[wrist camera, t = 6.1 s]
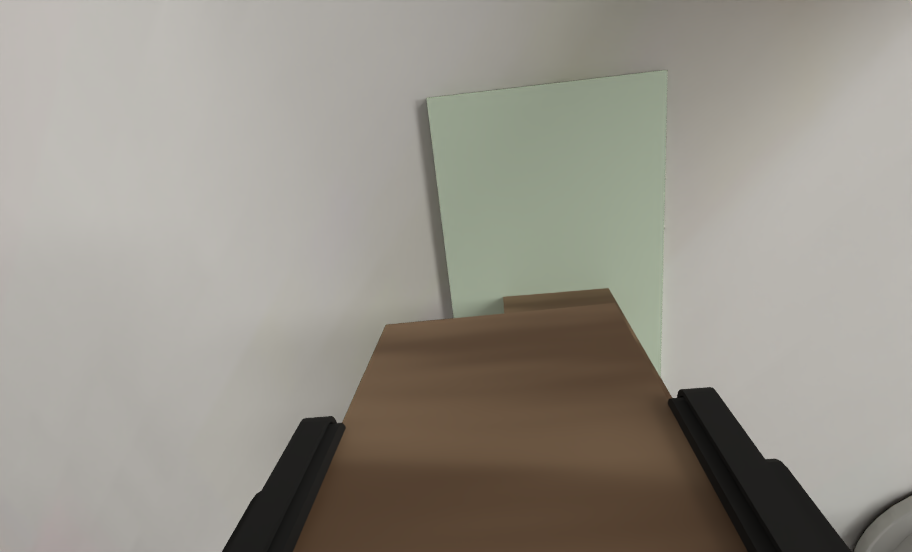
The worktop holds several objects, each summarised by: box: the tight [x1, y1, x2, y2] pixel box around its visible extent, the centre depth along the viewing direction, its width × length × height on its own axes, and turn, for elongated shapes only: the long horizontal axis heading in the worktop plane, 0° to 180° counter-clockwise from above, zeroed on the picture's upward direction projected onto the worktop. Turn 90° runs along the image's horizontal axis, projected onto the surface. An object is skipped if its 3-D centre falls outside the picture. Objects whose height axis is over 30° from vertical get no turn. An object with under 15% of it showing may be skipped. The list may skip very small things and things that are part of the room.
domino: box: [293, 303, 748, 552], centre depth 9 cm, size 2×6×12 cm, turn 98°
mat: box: [426, 70, 668, 378], centre depth 34 cm, size 38×12×1 cm, turn 7°
